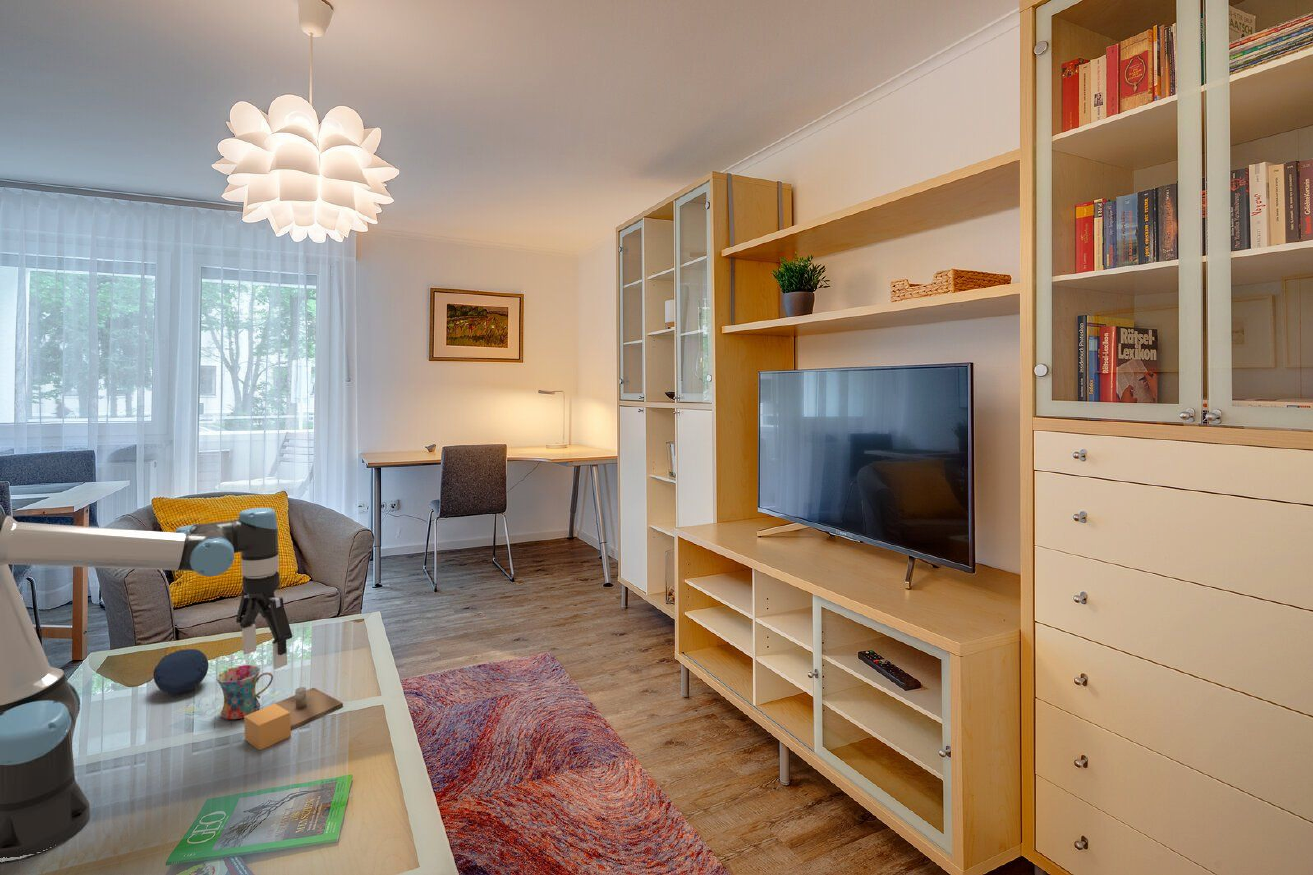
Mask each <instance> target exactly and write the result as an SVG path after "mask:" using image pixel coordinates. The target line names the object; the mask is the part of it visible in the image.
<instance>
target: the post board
mask: <svg viewBox="0 0 1313 875" xmlns="http://www.w3.org/2000/svg"><path fill="white" fill-rule="evenodd" d="M294 691H295V692H294V693H295V694H294V695H292V696H290V697H287V698H285V699H282V700H279V701H277V702H275V703H274V704H277V705H278V706H280V707H282V708H284V709H285V710H287V711H289V712H290V724H291V731H292V730H294V729H297V728H298V727H302V726H303V725H305V724H308V723H309V722H313V721H315V720H316V719H319V718H321V717H323V716H325V715H327V714H330V713H332V712H334V711H336V710H339V709H340V708H343V707H344V703H343V702H342V701H340V700H338V699H336V698H334V697H333V696H331V695H328V694H327V693H325V692H323V691H321V690H320V689H318V688H315V687H311V688H309V689H307V688H306V687H304V686H300V687H297V688H296V689H295V690H294ZM268 706H269V705H267V706H266V707H268ZM263 708H264V707H262V708H261V709H263Z"/></svg>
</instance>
